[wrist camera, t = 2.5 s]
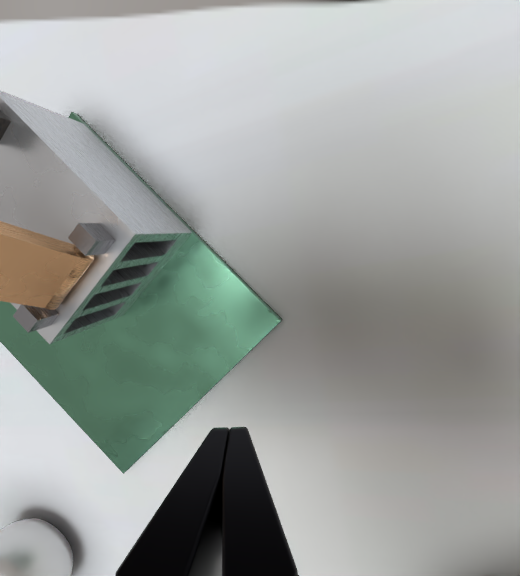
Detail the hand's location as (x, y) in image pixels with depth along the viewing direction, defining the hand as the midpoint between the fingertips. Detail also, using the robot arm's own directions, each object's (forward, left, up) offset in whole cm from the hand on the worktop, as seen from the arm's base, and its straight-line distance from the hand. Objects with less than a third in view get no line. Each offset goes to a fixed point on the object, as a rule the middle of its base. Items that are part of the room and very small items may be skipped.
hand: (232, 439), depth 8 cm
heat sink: (-3, +12, -12) cm, 17 cm away
